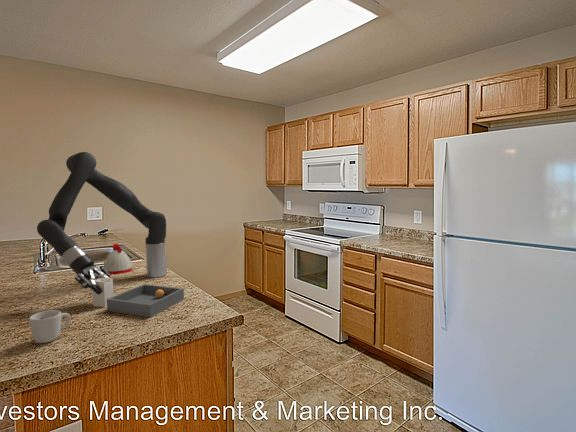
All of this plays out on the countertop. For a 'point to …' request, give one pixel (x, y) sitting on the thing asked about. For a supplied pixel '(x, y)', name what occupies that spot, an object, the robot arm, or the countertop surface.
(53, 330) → the cup
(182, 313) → the countertop surface
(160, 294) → the ball
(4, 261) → the countertop surface
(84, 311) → the countertop surface
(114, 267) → the cream and red dome
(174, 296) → the tray
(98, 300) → the open white crate
